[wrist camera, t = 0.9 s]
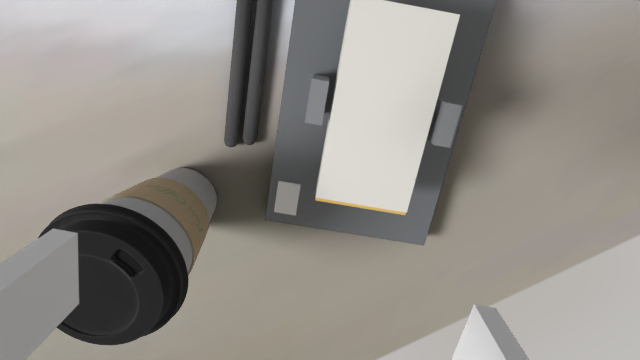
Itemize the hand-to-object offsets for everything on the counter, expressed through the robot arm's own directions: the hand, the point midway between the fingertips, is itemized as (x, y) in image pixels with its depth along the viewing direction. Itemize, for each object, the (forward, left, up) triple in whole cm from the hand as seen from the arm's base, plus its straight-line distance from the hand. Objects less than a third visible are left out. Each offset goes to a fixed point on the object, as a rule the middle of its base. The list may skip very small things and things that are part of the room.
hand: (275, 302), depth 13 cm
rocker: (-5, +5, -18) cm, 19 cm away
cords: (-8, -5, -23) cm, 25 cm away
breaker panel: (-5, +5, -23) cm, 24 cm away
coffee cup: (+7, -11, -23) cm, 27 cm away
